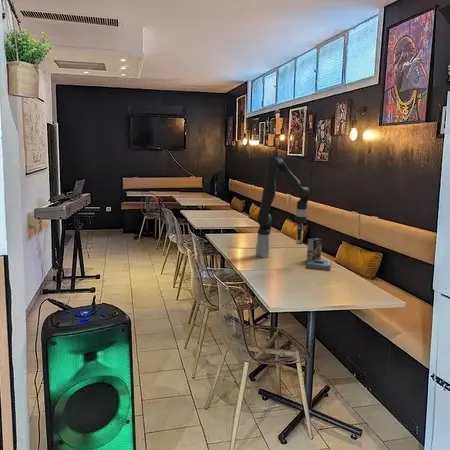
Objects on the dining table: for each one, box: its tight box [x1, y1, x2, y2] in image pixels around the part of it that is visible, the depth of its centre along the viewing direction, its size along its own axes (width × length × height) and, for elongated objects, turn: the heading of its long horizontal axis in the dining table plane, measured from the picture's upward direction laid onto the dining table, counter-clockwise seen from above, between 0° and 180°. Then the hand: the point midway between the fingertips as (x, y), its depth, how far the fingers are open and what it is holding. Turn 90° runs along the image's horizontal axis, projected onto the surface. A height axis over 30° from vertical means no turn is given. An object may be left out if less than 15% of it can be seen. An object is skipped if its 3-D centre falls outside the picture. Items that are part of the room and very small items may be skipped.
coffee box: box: [306, 237, 323, 261], centre depth 342 cm, size 9×6×16 cm
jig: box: [306, 259, 332, 271], centre depth 323 cm, size 16×16×4 cm
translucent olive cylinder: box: [295, 231, 304, 245], centre depth 325 cm, size 4×4×9 cm
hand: (299, 239), depth 325 cm, fingers closed on translucent olive cylinder, 4 cm apart
